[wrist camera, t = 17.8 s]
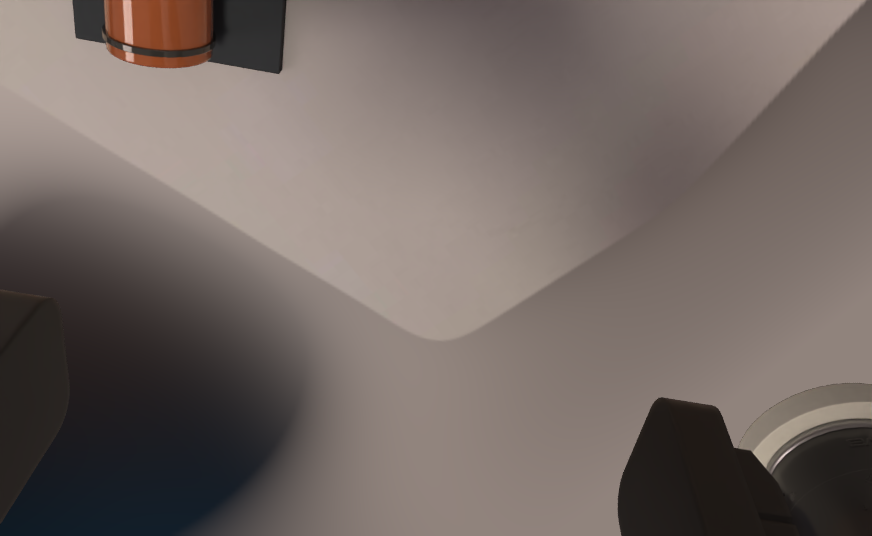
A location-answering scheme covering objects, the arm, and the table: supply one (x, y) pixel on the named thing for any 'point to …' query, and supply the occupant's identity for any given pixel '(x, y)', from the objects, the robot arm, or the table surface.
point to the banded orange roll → (160, 31)
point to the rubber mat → (217, 31)
